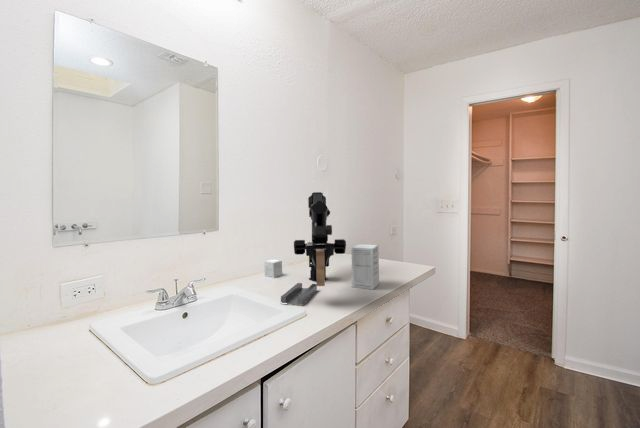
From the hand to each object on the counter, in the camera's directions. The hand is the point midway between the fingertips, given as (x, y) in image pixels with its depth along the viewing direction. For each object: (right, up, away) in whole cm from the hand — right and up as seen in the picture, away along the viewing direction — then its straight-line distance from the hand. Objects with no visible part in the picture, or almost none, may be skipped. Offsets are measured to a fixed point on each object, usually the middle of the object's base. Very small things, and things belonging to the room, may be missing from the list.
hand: (320, 266), depth 109 cm
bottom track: (-8, -13, +9) cm, 18 cm away
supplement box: (+19, -12, +23) cm, 32 cm away
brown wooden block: (0, -7, +2) cm, 7 cm away
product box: (-22, -12, +41) cm, 48 cm away
